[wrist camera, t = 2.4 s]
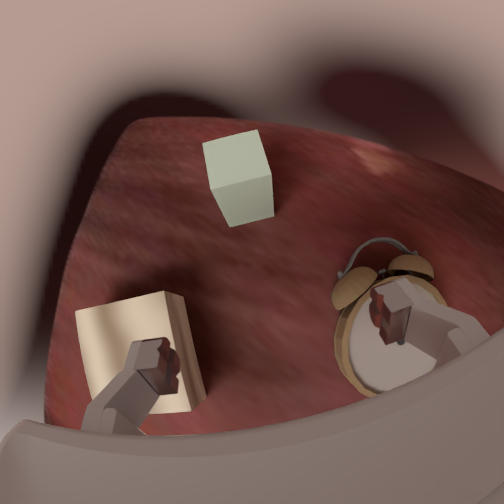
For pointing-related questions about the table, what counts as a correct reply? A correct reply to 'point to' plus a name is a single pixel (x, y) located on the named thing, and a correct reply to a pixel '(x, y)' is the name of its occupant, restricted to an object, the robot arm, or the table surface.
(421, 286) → the alarm clock
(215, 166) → the sage block
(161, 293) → the birch block
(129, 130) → the table surface
